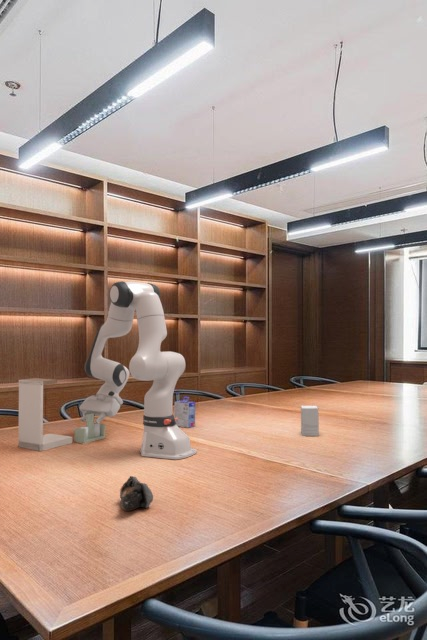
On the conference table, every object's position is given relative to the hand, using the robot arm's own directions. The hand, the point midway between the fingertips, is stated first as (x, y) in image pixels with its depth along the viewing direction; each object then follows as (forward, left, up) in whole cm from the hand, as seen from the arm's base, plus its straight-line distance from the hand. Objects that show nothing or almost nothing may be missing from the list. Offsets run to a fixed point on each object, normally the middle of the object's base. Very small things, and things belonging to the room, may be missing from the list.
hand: (89, 421), depth 202 cm
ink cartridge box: (-18, -46, -8) cm, 50 cm away
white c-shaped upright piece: (+9, +16, -8) cm, 20 cm away
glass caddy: (0, 0, -8) cm, 8 cm away
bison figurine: (-68, +49, -8) cm, 84 cm away
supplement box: (-78, -60, -8) cm, 99 cm away
